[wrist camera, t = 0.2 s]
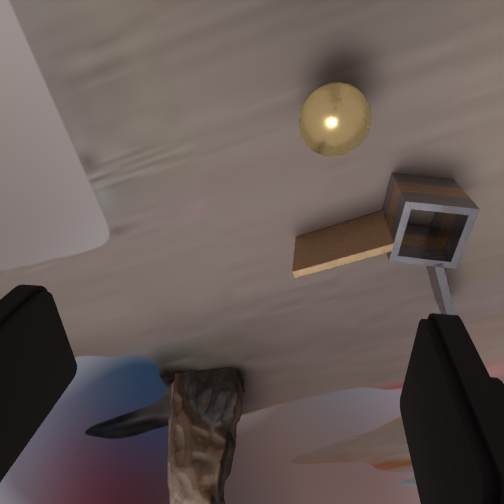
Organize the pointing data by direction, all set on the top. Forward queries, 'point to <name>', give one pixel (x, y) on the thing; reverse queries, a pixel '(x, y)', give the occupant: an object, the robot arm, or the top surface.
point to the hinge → (399, 233)
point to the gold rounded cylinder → (335, 119)
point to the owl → (202, 434)
